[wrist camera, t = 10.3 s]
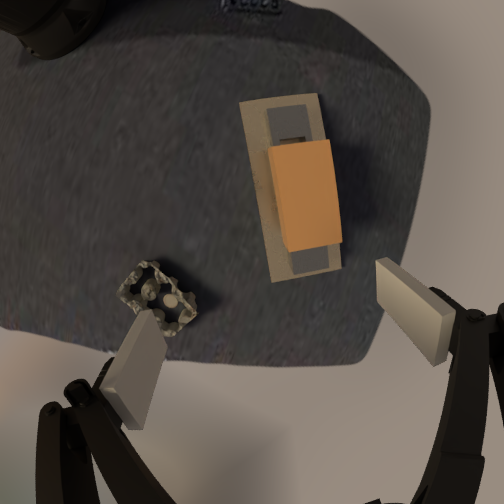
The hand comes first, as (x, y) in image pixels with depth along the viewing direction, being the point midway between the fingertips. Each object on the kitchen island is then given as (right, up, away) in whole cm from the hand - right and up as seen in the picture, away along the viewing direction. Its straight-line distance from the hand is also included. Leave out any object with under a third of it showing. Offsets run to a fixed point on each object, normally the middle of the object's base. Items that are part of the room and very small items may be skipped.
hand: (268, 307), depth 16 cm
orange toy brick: (+5, +11, +20) cm, 23 cm away
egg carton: (-14, -3, +25) cm, 29 cm away
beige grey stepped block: (+4, +11, +21) cm, 24 cm away
